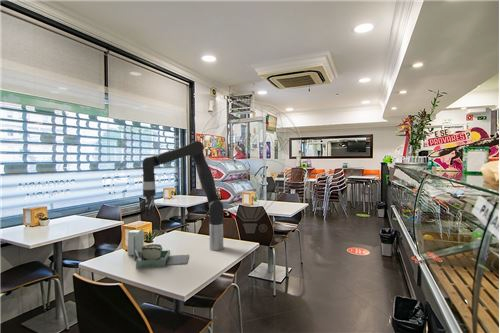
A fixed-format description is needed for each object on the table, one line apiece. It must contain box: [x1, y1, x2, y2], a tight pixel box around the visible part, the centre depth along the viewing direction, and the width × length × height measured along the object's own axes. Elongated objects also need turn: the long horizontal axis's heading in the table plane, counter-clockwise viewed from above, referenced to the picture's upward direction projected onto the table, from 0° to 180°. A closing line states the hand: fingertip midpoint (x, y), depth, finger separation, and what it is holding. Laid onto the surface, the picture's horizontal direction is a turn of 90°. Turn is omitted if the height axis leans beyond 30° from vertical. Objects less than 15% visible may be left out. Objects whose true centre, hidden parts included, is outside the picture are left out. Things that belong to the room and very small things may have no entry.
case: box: [133, 228, 171, 269], centre depth 155 cm, size 17×16×18 cm
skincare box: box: [127, 229, 145, 256], centre depth 170 cm, size 8×6×15 cm
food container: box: [141, 243, 164, 260], centre depth 155 cm, size 12×6×10 cm, turn 84°
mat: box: [166, 254, 190, 266], centre depth 158 cm, size 11×14×1 cm
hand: (149, 214), depth 167 cm, fingers open, 8 cm apart
